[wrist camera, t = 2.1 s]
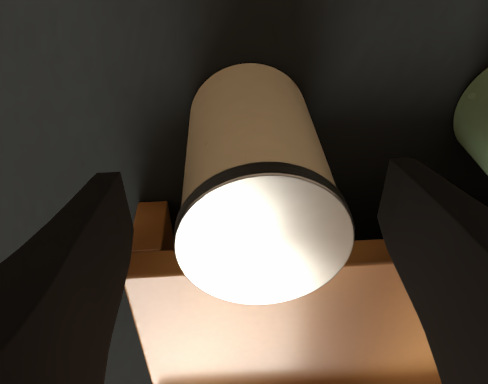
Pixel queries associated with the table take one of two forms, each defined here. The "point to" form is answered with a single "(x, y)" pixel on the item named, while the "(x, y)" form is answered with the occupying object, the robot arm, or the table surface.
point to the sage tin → (474, 120)
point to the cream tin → (258, 193)
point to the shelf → (274, 322)
